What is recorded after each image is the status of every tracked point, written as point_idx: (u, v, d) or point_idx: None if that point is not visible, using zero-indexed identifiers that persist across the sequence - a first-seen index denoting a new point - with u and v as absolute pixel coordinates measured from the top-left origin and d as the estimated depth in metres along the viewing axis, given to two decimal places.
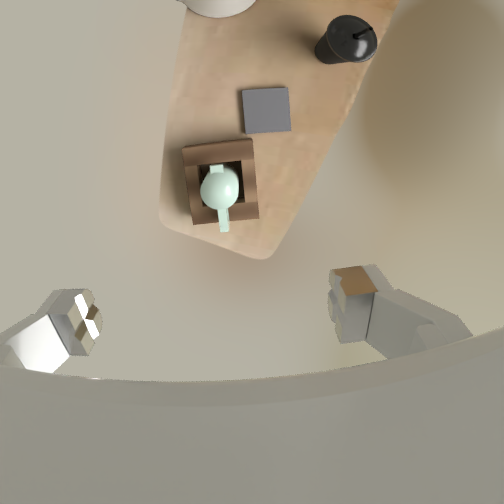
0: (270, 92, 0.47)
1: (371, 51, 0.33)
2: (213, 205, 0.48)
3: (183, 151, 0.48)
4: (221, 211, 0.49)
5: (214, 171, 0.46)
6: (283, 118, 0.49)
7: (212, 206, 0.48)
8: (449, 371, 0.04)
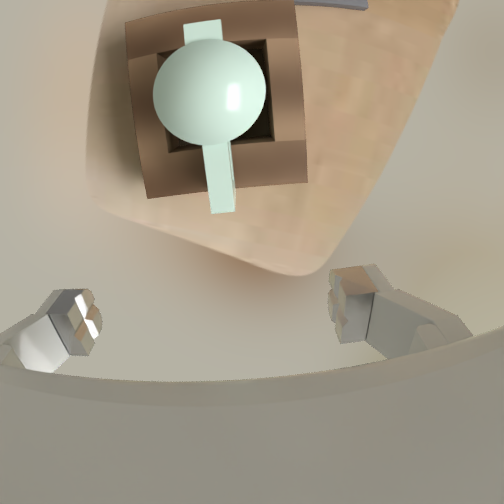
0: None
1: None
2: (190, 133, 0.15)
3: (128, 27, 0.16)
4: (214, 152, 0.16)
5: (195, 37, 0.13)
6: None
7: (187, 136, 0.15)
8: (449, 371, 0.04)
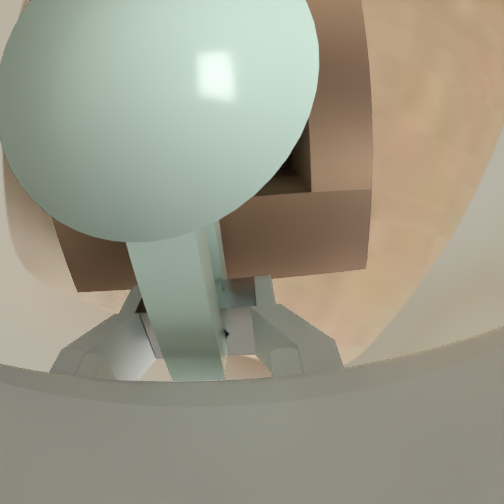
0: None
1: None
2: (82, 206, 0.05)
3: None
4: (158, 255, 0.06)
5: None
6: None
7: (77, 215, 0.05)
8: (449, 371, 0.04)
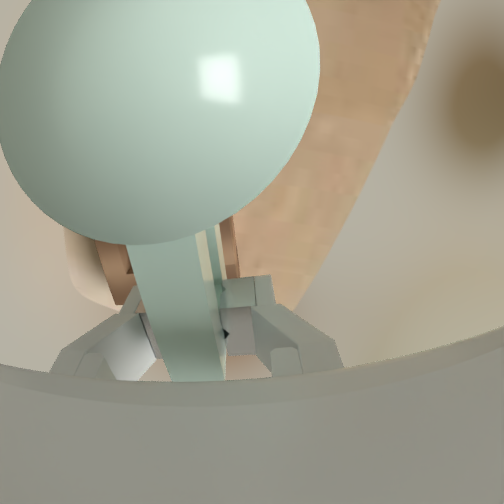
0: None
1: None
2: (82, 208, 0.05)
3: None
4: (158, 257, 0.06)
5: None
6: None
7: (77, 218, 0.05)
8: (449, 371, 0.04)
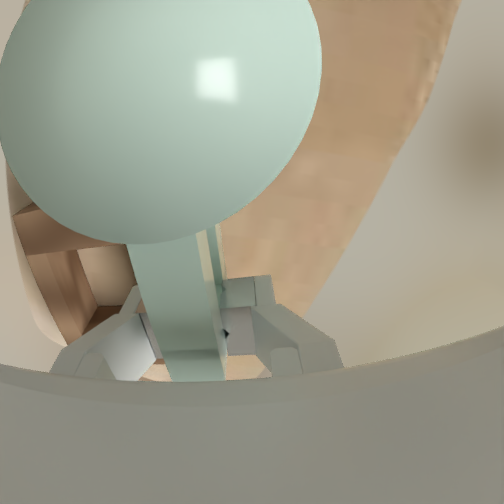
0: None
1: None
2: (82, 208, 0.05)
3: (16, 221, 0.16)
4: (159, 257, 0.06)
5: None
6: None
7: (77, 217, 0.05)
8: (449, 371, 0.04)
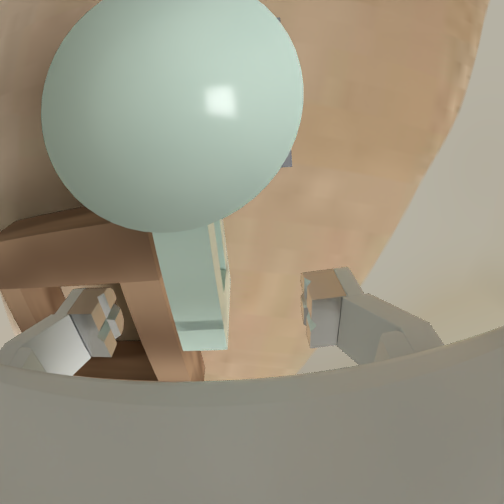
0: None
1: None
2: (119, 204, 0.06)
3: None
4: (178, 243, 0.07)
5: None
6: None
7: (114, 211, 0.06)
8: (449, 371, 0.04)
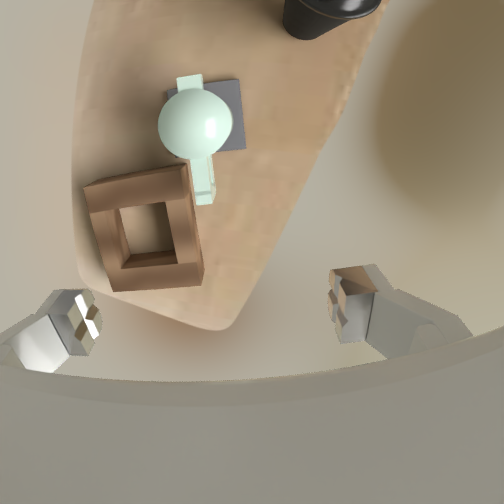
0: (210, 88, 0.29)
1: (373, 0, 0.15)
2: (182, 151, 0.24)
3: (85, 191, 0.31)
4: (197, 163, 0.25)
5: (184, 86, 0.21)
6: (233, 129, 0.31)
7: (180, 153, 0.24)
8: (449, 371, 0.04)
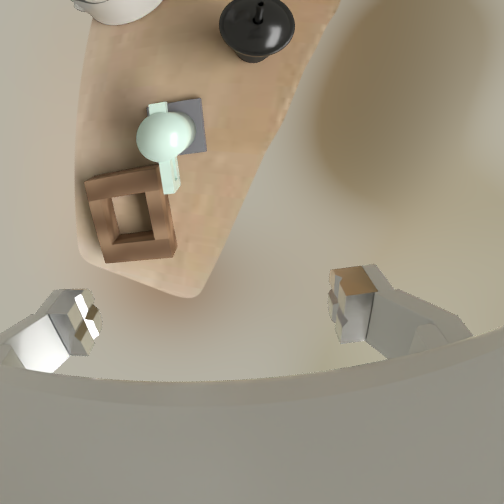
0: (178, 106, 0.39)
1: (284, 38, 0.24)
2: (153, 156, 0.33)
3: (85, 184, 0.40)
4: (164, 165, 0.34)
5: (154, 111, 0.31)
6: (196, 136, 0.41)
7: (151, 158, 0.33)
8: (449, 371, 0.04)
